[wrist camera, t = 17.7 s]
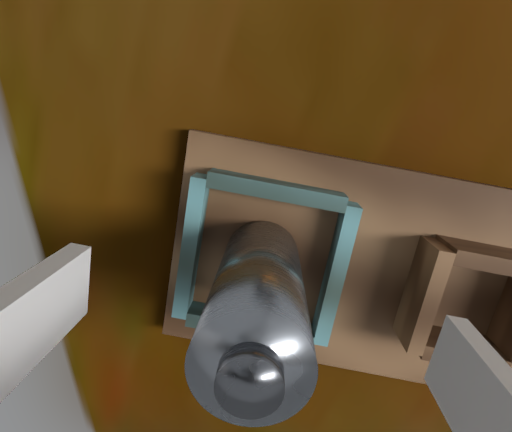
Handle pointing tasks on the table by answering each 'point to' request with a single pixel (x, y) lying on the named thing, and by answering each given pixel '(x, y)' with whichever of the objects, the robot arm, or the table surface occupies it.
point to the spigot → (254, 332)
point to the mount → (351, 248)
